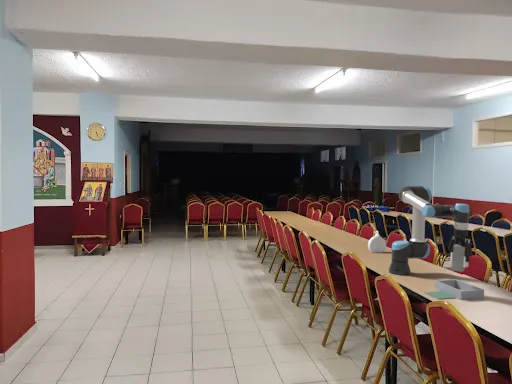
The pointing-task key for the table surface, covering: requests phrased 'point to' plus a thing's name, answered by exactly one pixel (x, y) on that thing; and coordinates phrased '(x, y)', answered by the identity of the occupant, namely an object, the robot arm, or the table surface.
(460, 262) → the skincare box
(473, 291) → the parts bin
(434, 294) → the pad
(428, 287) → the table surface
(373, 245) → the soap bottle
